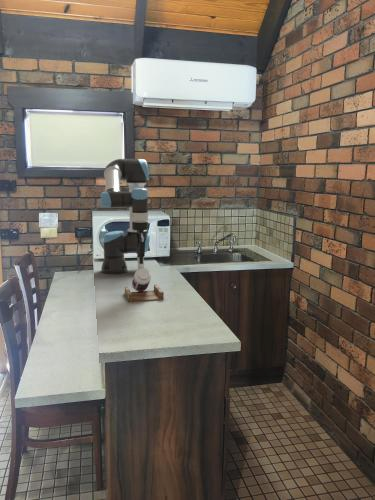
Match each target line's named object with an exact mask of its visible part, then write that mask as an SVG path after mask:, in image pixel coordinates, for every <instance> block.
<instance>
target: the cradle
mask: <svg viewBox="0 0 375 500" xmlns="http://www.w3.org/2000/svg"><path fill="white" fill-rule="evenodd" d="M124 295H125V297H126V300H127V301H128V303H129V302H131V303H140V302H143V303H144V302H152V301H153V302H154V301H163V300H164V299H165V298H164V291H163V290H162V289H161V288H160V287H159V285H158V284H153V290H152V289H151V290H145V291H141V292H139V291H131V290H130V288H129V287H128V286H124Z"/></svg>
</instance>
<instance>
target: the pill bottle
mask: <svg viewBox="0 0 375 500" xmlns="http://www.w3.org/2000/svg"><path fill="white" fill-rule="evenodd" d="M151 279H152V275H151V272H150V271H149V270H148V269H147V268H145V267H144V268H142V269H138V268H137V270H136V271H135V272H134V274H133V278H132V281H131V286H132V288H133V290H135V292H141V291H147V289H148V287H149V285H150V282H151Z"/></svg>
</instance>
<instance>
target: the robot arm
mask: <svg viewBox="0 0 375 500" xmlns="http://www.w3.org/2000/svg"><path fill="white" fill-rule="evenodd" d="M149 175H150V174H149V166H148V162H147V160H146V159H142V158H117V159H114V160H112V161H111V162H109V163H107V165H106V166H105V168H104V170H103V177H104V179H105V185H104V186H105V187H104V191H102V192H100V206H101V207H103V208H129V211H128V212H129V228H128V229H127V230H126V233H125V232H124V231H123V230H115V231H109V232H106V233H105V234H104V235H103V241H102V243H103V262H102V264H101V268H100V269H101V270H100V272H101V273H102V274H107V275H114V274H115V275H117V274H123V273H124V274H125V273H126V272H128V265H127V262H126V259H125V254H136V257H137V270H138V269H142V268H145V257H146V253H147V252H148V251H149V249H150V248H149V247H150V239H151V238H150V236H151V234H150V232H148V230H149V222H148V221H149V210H148V209H149V203H148V202H149V194H148V189H147V188H145V186H146V185H147V181H149V180H150V176H149ZM121 181H125V184H126V185H128V191H121Z"/></svg>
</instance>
